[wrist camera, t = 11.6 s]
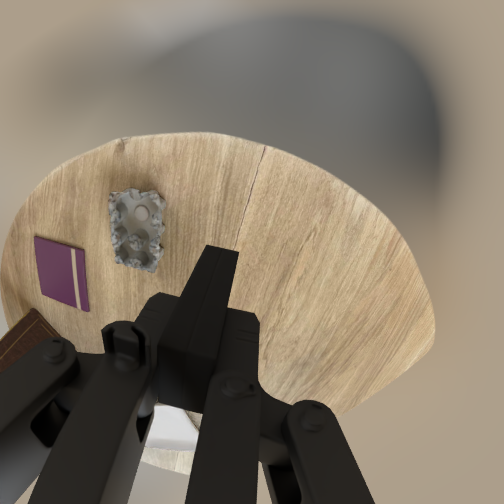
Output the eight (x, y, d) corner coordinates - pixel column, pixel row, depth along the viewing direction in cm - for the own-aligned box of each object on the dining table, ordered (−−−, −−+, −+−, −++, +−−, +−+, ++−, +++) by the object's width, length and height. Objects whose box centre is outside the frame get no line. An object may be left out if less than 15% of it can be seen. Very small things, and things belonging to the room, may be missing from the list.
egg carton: (122, 183, 34) (107, 188, 30) (172, 191, 34) (161, 197, 30) (118, 254, 38) (106, 265, 34) (164, 265, 38) (154, 278, 34)
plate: (105, 392, 52) (100, 403, 49) (182, 394, 49) (179, 406, 46) (146, 439, 59) (143, 448, 56) (217, 442, 57) (215, 452, 54)
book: (25, 319, 45) (-35, 387, 22) (34, 302, 43) (-37, 376, 20) (91, 384, 51) (49, 464, 28) (106, 375, 49) (60, 465, 26)
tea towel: (35, 235, 37) (33, 237, 37) (84, 249, 38) (82, 251, 37) (43, 292, 42) (41, 294, 41) (89, 310, 42) (87, 312, 42)
